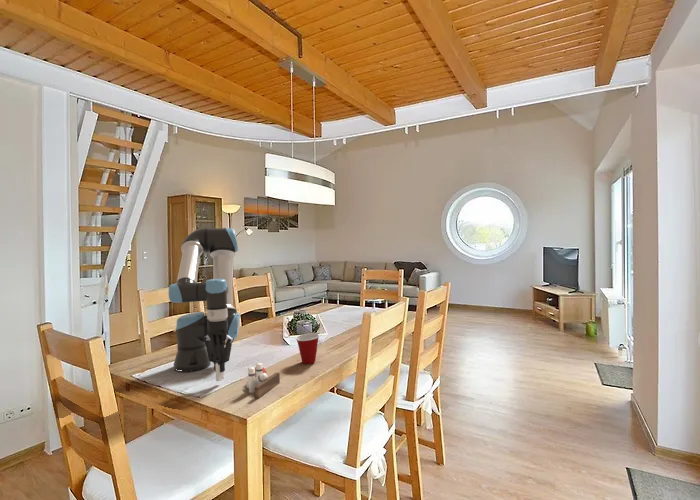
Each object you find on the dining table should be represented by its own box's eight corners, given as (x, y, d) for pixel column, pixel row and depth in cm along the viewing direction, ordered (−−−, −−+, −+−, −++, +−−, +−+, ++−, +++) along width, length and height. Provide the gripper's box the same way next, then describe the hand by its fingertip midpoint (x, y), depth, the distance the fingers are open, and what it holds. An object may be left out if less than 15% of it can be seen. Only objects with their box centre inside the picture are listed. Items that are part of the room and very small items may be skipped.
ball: (258, 384, 148) (249, 370, 149) (254, 386, 153) (246, 373, 154) (271, 375, 152) (263, 361, 153) (267, 378, 156) (259, 365, 157)
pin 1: (247, 392, 143) (246, 369, 142) (251, 389, 145) (250, 367, 145) (253, 393, 142) (252, 369, 142) (257, 390, 144) (256, 367, 144)
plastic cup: (296, 359, 180) (295, 333, 180) (320, 357, 181) (319, 332, 181) (295, 366, 169) (294, 339, 169) (320, 365, 170) (319, 338, 170)
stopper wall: (254, 398, 137) (254, 387, 137) (276, 382, 152) (275, 372, 151) (258, 398, 137) (258, 387, 137) (279, 383, 151) (279, 372, 151)
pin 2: (255, 387, 147) (254, 364, 147) (258, 384, 150) (257, 362, 149) (260, 388, 147) (260, 365, 146) (264, 385, 149) (263, 363, 149)
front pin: (244, 383, 146) (261, 374, 143) (248, 381, 148) (265, 371, 146) (247, 389, 146) (265, 380, 143) (251, 386, 148) (268, 377, 145)
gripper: (196, 320, 149) (199, 381, 150) (225, 322, 144) (228, 385, 145) (209, 316, 156) (212, 374, 157) (237, 318, 151) (240, 377, 152)
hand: (219, 379), depth 151 cm, fingers closed
